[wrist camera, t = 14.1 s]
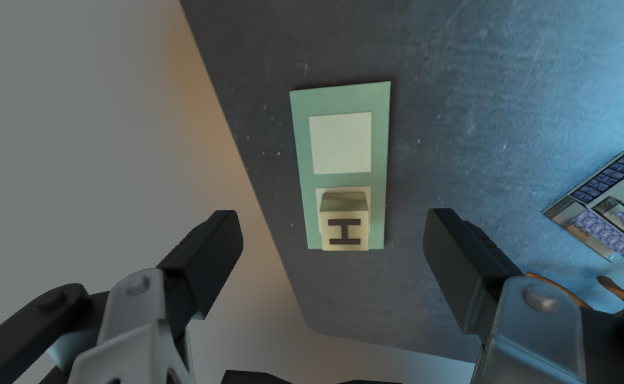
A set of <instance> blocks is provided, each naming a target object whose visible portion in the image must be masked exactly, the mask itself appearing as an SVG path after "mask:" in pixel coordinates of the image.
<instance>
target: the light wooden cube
mask: <svg viewBox="0 0 624 384" xmlns="http://www.w3.org/2000/svg"><path fill="white" fill-rule="evenodd" d="M319 214H320V225H321V236H322V247H323V250H357V251H368V236H369V210H368V205H367V200H366V195H365V192H358V193H328V194H322V200H321V206H320V211H319Z"/></svg>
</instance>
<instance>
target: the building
mask: <svg viewBox="0 0 624 384" xmlns="http://www.w3.org/2000/svg"><path fill="white" fill-rule="evenodd" d="M542 214H543V215H545V216H546V217H548V218H549V219H550V220H552V221H553V222H554V223H556V224H557V225H559V226H560V227H561V228H563V229H564V230H565V231H567V232H568V233H570V234H571V235H572V236H574V237H575V238H576V239H578V240H579V241H581V242H582V243H583V244H585V245H586V246H587V247H589V248H590V249H592V250H593V251H594V252H596V253H597V254H598V255H600V256H601V257H603V258H605V259H606V257H607V256H609V255H611V254H612V253H614V252H617V253H619V254H620V255H621V256H623V257H624V152H622V153H621V154H619V155H618V156H617V157H615V158H614V159H613V160H611V161H610V162H609V163H607V164H606V165H605V166H603V167H602V168H601V169H599V170H598V171H596V172H595V173H594V174H592V175H591V176H590V177H588V178H587V179H586V180H584V181H583V182H582V183H580V184H579V185H578V186H576V187H575V188H574V189H572V190H571V191H570V192H568V193H567V194H566V195H564V196H563V197H562V198H560V199H559V200H558V201H556V202H555V203H554V204H552V205H551V206H550V207H548V208H547V209H546V210H544V211H543V212H542ZM607 260H608V259H607ZM608 261H609V260H608ZM609 262H610V261H609ZM611 263H612V262H611Z"/></svg>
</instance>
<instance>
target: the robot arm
mask: <svg viewBox="0 0 624 384" xmlns="http://www.w3.org/2000/svg"><path fill="white" fill-rule="evenodd" d="M242 251H243V237H242V232H241V228H240V224H239V220H238V216H237V213H236V212H235V211H234V210H217V211H215V212H214V213H213V214H212V215H211V216H210V218H209V219H208V220H207V221H206V222H203V223H201V224H200V225H198V226H197V227H195V228H193V229H192V230H191V231H190V232H189V234H188V235H187V236H186V238H184V239H183V240H182V241H181V242H180V243H179V245H177V246H176V247H175V248H174V249H173V250H172V251H171V252H170V253H169V254H168V255H167V256H166V257H165V258H164V259H163V260H162V261H161V262H160V263H159V264H158V265H157V266H156V267H155V268H148V269H143V270H140V271H137V272H134V273H132V274H130V275H128V276H127V277H125V278H124V279H122V280H121V281H119V282H118V283H117V284H116V285H115V286H114V287H113V288H112V289H111V291H107V292H102V293H97V294H92V295H89V294H88V293H87V291H86V289H85V288H84V287H83V285H82V284H79V283H72V284H67V285H63V286H60V287H57V288H55V289H52V290H50V291H48V292H46V293H44V294H42V295H40V296H39V297H37V298H36V299H34V300H33V301H31V302H30V303H28V304H27V305H26V306H25V307H23V308H22V309H20V310H19V311H18V312H16V313H15V314H14V315H12V316H11V317H10V318H9V319H7V320H6V321H5V322H3V323H2V324H1V325H0V384H12V383H13V382H14V381H15V380H17V379H18V378H19V377H20V376H21V375H22V374H23V373H24V372H25V371H26V370H27V369H28V368H29V367H30V366H31V365H32V364H33V363H34V362H35V361H36V360H37V359H38V358H39V357H40V356H41V355H42V354H43V353H44V352H45V353H46V354H47V355H48V356H49V357H50V358H51V359H52V360H53V362H54V363H55V364H56V366H55V367H54V368H53V369H52V370H51V372H49V373H48V374H47V375H46V377H45V378H44V379H43V380H42V381H41V382H40V383H39V384H196V383H195V376H194V369H193V361H192V354H191V346H190V338H189V332H188V329H187V324H188V323H189V321H190V320H191V319H199V320H204V319H205V318H206V315H207V314H208V312H209V311H210V308H211V307H212V305H213V303H214V302H215V300H216V298H217V296H218V295H219V293H220V291H221V289H222V287H223V286H224V284H225V282H226V280H227V279H228V277H229V275H230V273H231V271H232V270H233V268H234V266H235V264H236V262H237V261H238V259H239V257H240V255H241V253H242ZM423 251H424V255H425V257H426V260H427V262H428V264H429V266H430V268H431V270H432V272H433V274H434V276H435V278H436V280H437V282H438V284H439V286H440V288H441V290H442V292H443V294H444V296H445V298H446V300H447V302H448V304H449V307H450V309H451V311H452V313H453V315H454V317H455V319H456V321H457V323H458V325H459V327H460V329H461V331H462V333H463V334H475V335H479V337H480V339H481V341H482V345H481V348H480V351H479V354H478V358H477V361H476V365H475V368H474V372H473V375H472V378H471V382H470V384H624V312H623V313H622V315H621V316H617V315H613V314H609V313H605V312H601V311H596V310H592V309H588V308H584V307H580V306H578V305H577V303H576V302H575V301H574V300H573V299H572V298H571V297H570V296H568V295H567V294H566V293H565V292H563V291H562V290H560V289H558V288H557V287H555V286H553V285H551V284H549V283H546V282H544V281H541V280H538V279H535V278H531V277H526V276H525V275H524V274H523V273H522V272H521V270H520V269H519V268H518V267H517V266H516V265H515V264H514V263H513V262H512V261H511V260H510V259H509V258H508V257H507V256H506V255H505V254H504V253H503V252H502V251H501V250H500V248H497V245H496V244H495V243H494V242H493V241H492V240H490V239H489V237H488V236H487V235H486V234H485V233H484V232H483V231H482V230H481V229H480V228H479V227H477V226H475V225H473V224H472V223H470V222H468V221H463V220H462V219H461V218H460V217H459V216H458V215H457V214H456V213H455V211H454V210H453V209H451V208H431V209H429V210H428V213H427V219H426V225H425V231H424V238H423ZM221 384H292V383H290V382H287V381H285V380H282V379H280V378H278V377H275V376H273V375H271V374H268V373H261V372H249V371H236V370H226V372H225V374H224V377H223V380H222V382H221ZM339 384H402V383H392V382H379V381H366V380H352V381H348V382H344V383H339Z"/></svg>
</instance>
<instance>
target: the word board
mask: <svg viewBox="0 0 624 384" xmlns="http://www.w3.org/2000/svg"><path fill="white" fill-rule="evenodd" d="M390 86H391V82H390V81H384V82H374V83H364V84H354V85H343V86H333V87H323V88H313V89H303V90H292V91H290V92H289V93H290V101H291V109H292V118H293V126H294V134H295V143H296V151H297V159H298V167H299V176H300V184H301V192H302V201H303V209H304V217H305V226H306V234H307V242H308V249H323V247H322V236H321V225H320V214H319V211H320V206H321V200H322V194H328V193H358V192H365V195H366V200H367V205H368V210H369V236H368V249H383V248H384V225H385V202H386V179H387V156H388V133H389V109H390Z"/></svg>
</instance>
